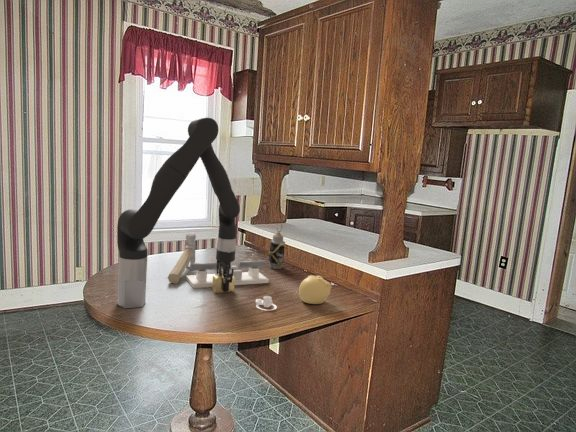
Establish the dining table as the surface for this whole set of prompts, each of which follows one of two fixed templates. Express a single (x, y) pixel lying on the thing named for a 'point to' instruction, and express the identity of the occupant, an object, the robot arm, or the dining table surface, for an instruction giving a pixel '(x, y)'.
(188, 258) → the hammer
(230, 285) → the gold rectangular block
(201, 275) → the shaft rig
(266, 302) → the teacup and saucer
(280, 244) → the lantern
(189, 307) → the dining table surface
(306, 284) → the tan round ball
